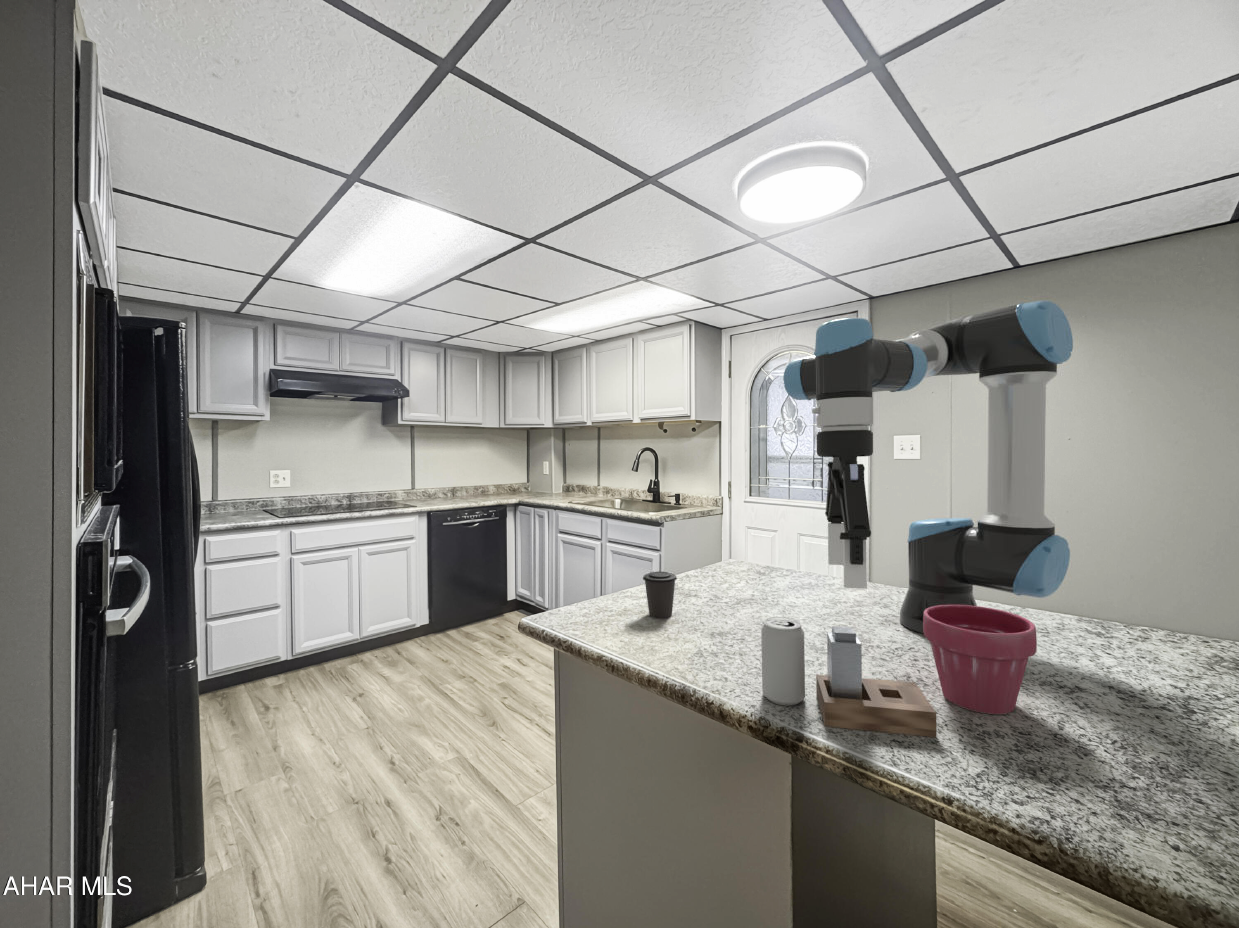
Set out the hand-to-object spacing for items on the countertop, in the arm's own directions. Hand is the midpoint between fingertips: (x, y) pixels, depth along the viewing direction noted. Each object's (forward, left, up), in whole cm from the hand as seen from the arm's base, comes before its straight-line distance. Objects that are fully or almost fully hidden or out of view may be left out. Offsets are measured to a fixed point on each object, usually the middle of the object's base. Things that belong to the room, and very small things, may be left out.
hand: (845, 575), depth 75 cm
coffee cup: (+34, -39, -21) cm, 56 cm away
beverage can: (+9, -3, -21) cm, 23 cm away
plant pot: (-20, -8, -21) cm, 30 cm away
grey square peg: (0, 0, -19) cm, 19 cm away
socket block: (-3, 0, -20) cm, 21 cm away
